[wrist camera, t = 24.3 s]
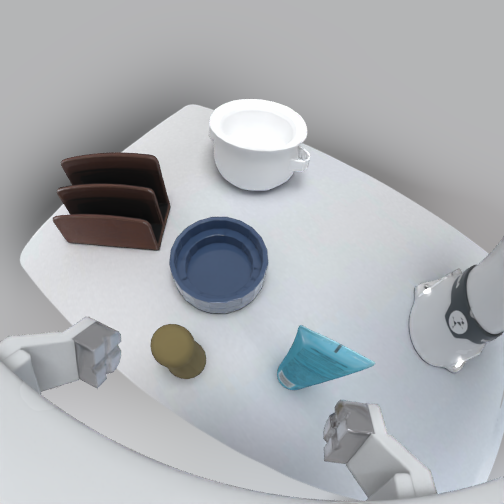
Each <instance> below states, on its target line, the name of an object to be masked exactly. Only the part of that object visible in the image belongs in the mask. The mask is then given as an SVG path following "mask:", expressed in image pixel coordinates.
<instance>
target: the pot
mask: <svg viewBox="0 0 504 504" xmlns="http://www.w3.org/2000/svg"><path fill="white" fill-rule="evenodd" d="M306 136H307V127H306V124H305V121H304V120H303V119H302V117H301V116H300V115H299V114H298V113H296V112H295V111H293V110H292V109H290V108H289V107H286V106H284V105H281V104H278V103H276V102H271V101H265V100H260V99H242V100H236V101H231V102H228V103H226V104H223V105H221V106H220V107H218V108H217V109H216V110H215V111H214V112H213V113H212V115H211V117H210V127H209V137H210V139H211V140H212V141H214V159H215V163H216V166H217V168H218V170H219V172H220V173H221V175H222V176H223V177H224V178H225V179H226V180H227V181H229V182H230V183H231V184H233V185H235V186H237V187H239V188H241V189H246V190H253V191H257V190H268V189H272V188H275V187H277V186H279V185H281V184H283V183H284V182H286V181H288V180H289V178H290V177H291V176H292V174H293V172H294V171H296V172H303V171H305V170H307V167H308V164H309V159H310V154H309V153H308V151H307V150H305V149H304V148H303V147H301V146H300V144H301V143H302V142H304V141H305V139H306ZM298 158H300V159H302V160H304V161H302V160H298Z"/></svg>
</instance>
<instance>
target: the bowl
mask: <svg viewBox="0 0 504 504" xmlns="http://www.w3.org/2000/svg"><path fill="white" fill-rule="evenodd" d="M169 264H170V268H171V272H172V276H173V279H174V281H175V283H176V286H177V288H178V290H179V291H180V293H181V294H182V296H183V297H184V299H185V300H186V301H187V302H189V303H190V304H191V305H193V306H194V307H195V308H197V309H200V310H203V311H206V312H209V313H229V312H233V311H236V310H239V309H241V308H243V307H244V306H246V305H247V304H249V303H250V302H251V301H253V300H254V298H255V297H256V296H257V294H258V293H259V292H260V290H261V288H262V285H263V282H264V278H265V274H266V270H267V266H268V255H267V248H266V246H265V244H264V242H263V240H262V238H261V236H260V235H259V234H258V233H257V232H256V231H255V230H254V229H253V228H252V227H251V226H249V225H247V224H245V223H244V222H242V221H240V220H236V219H233V218H229V217H211V218H207V219H203V220H199V221H197V222H195V223H194V224H192V225H190V226H188V227H187V228H186V229H185V230H184V231H183V232H182V233H181V234H180V235H179V236H178V237H177V238H176V240H175V242H174V244H173V246H172V248H171V254H170V262H169Z"/></svg>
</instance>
